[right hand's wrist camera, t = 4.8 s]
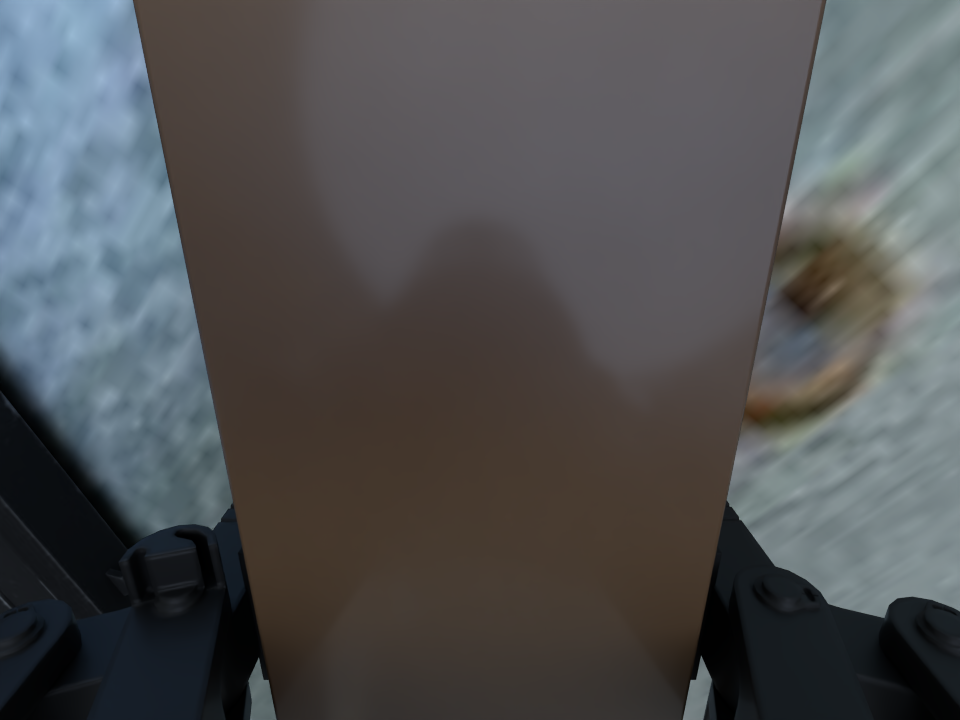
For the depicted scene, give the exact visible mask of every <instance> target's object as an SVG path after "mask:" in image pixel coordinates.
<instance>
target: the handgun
mask: <svg viewBox="0 0 960 720" xmlns="http://www.w3.org/2000/svg"><path fill="white" fill-rule="evenodd" d="M126 551H127V548H126V547H125V546H124V545H123V543H122V542H121V541H120V540H119V538H118V537H117V536H116V535H115V533H114V532H113V531H112V530H111V528H110V527H109V526H108V525H107V523H106V522H105V521H104V520H103V518H102V517H101V516H100V515H99V513H98V512H97V511H96V510H95V508H94V507H93V506H92V505H91V503H90V502H89V501H88V500H87V498H86V497H85V496H84V495H83V493H82V492H81V491H80V490H79V488H78V487H77V486H76V485H75V483H74V482H73V481H72V480H71V478H70V477H69V476H68V475H67V473H66V472H65V471H64V470H63V468H62V467H61V466H60V465H59V463H58V462H57V461H56V460H55V458H54V457H53V456H52V455H51V453H50V452H49V451H48V450H47V448H46V447H45V446H44V445H43V443H42V442H41V441H40V440H39V438H38V437H37V436H36V435H35V433H34V432H33V431H32V430H31V428H30V427H29V426H28V425H27V423H26V422H25V421H24V420H23V418H22V417H21V416H20V415H19V413H18V412H17V411H16V410H15V408H14V407H13V406H12V405H11V403H10V402H9V401H8V400H7V398H6V397H5V396H4V395H3V393H2V392H1V391H0V614H1V613H3V612H5V611H7V610H9V609H12V608H15V607H18V606H20V605H23V604H26V603H28V602H34V601H39V600H45V599H52V600H61V601H64V602H65V603H66V604H68V605H69V606H70V607H71V608H72V611H73V614H74V617H75V619H76V620H80V619H84V618H88V617H92V616H97V615H101V614H105V613H109V612H114V611H118V610H121V609H125V608H128V607H131V606H132V605H131V601H130V598H129V595H128V592H127V588H126V585H125V582H124V579H123V575H122V572H121V569H120V566H119V561H120V559H121V558H122V557H123V555H124V554H125V553H126Z"/></svg>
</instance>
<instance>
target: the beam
mask: <svg viewBox="0 0 960 720" xmlns="http://www.w3.org/2000/svg"><path fill="white" fill-rule="evenodd" d="M133 3H134V8H135V13H136V18H137V23H138V28H139V33H140V38H141V43H142V48H143V53H144V58H145V63H146V68H147V73H148V78H149V83H150V88H151V93H152V98H153V103H154V108H155V113H156V118H157V123H158V128H159V133H160V138H161V143H162V148H163V153H164V158H165V163H166V168H167V173H168V178H169V183H170V188H171V193H172V198H173V203H174V208H175V213H176V218H177V223H178V228H179V233H180V238H181V243H182V248H183V253H184V258H185V263H186V268H187V273H188V278H189V283H190V288H191V293H192V298H193V303H194V308H195V313H196V318H197V323H198V328H199V333H200V338H201V343H202V348H203V353H204V358H205V363H206V368H207V373H208V378H209V383H210V388H211V393H212V398H213V403H214V408H215V413H216V418H217V423H218V428H219V433H220V438H221V443H222V448H223V453H224V459H225V464H226V469H227V474H228V479H229V484H230V489H231V494H232V499H233V504H234V509H235V514H236V519H237V524H238V529H239V534H240V539H241V544H242V549H243V554H244V559H245V564H246V569H247V574H248V579H249V584H250V589H251V594H252V599H253V604H254V609H255V614H256V619H257V624H258V629H259V634H260V639H261V644H262V649H263V654H264V659H265V664H266V669H267V674H268V679H269V684H270V689H271V694H272V699H273V704H274V709H275V714H276V719H277V720H683V715H684V710H685V705H686V700H687V695H688V690H689V685H690V680H691V675H692V670H693V665H694V660H695V655H696V650H697V645H698V640H699V635H700V630H701V625H702V620H703V615H704V610H705V605H706V600H707V595H708V590H709V585H710V580H711V575H712V570H713V565H714V560H715V555H716V550H717V545H718V540H719V535H720V530H721V525H722V520H723V515H724V510H725V505H726V500H727V495H728V490H729V485H730V480H731V475H732V470H733V465H734V460H735V455H736V450H737V445H738V440H739V435H740V430H741V425H742V420H743V415H744V410H745V405H746V400H747V395H748V390H749V385H750V380H751V375H752V370H753V365H754V360H755V355H756V350H757V345H758V340H759V335H760V330H761V325H762V320H763V315H764V310H765V305H766V300H767V295H768V290H769V285H770V280H771V275H772V270H773V265H774V260H775V255H776V250H777V245H778V240H779V235H780V230H781V225H782V219H783V214H784V209H785V204H786V199H787V194H788V189H789V184H790V179H791V174H792V169H793V164H794V159H795V154H796V149H797V144H798V139H799V134H800V129H801V124H802V119H803V114H804V109H805V104H806V99H807V94H808V89H809V84H810V79H811V74H812V69H813V64H814V59H815V54H816V49H817V44H818V39H819V34H820V29H821V24H822V19H823V14H824V9H825V4H826V0H133Z"/></svg>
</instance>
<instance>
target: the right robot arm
mask: <svg viewBox="0 0 960 720" xmlns="http://www.w3.org/2000/svg"><path fill="white" fill-rule="evenodd" d="M119 566H120V569H121V572H122V575H123V579H124V582H125V585H126V588H127V592H128V595H129V598H130V601H131V605H132V606H131V607H128V608H125V609H121V610H118V611H114V612H109V613H105V614H101V615H97V616H92V617H88V618H84V619H80V620H76V619H75V617H74V614H73V611H72V608H71V607H70V606H69V605H68V604H66V603H65V602H64V601H61V600H52V599H45V600H39V601H34V602H28V603H26V604H23V605H20V606H18V607H15V608H12V609H9V610H7V611H5V612H3V613H1V614H0V720H250V714H251V704H252V700H251V693H250V687H249V683H248V680H249V678H250V676H251V673H252V671H253V669H254V667H255V664H256V662H257V660H258V658H259V659H260V664H261V669H262V674H263V679H264V680H269V679H268V674H267V669H266V664H265V659H264V654H263V649H262V644H261V639H260V634H259V629H258V624H257V619H256V614H255V609H254V604H253V599H252V594H251V589H250V584H249V579H248V574H247V569H246V564H245V559H244V554H243V549H242V544H241V539H240V534H239V529H238V524H237V519H236V514H235V509H234V504H233V503H232V505H231V509H228V510H227V512H226V513H225V514H224V516H223V517H222V518H221V522H219V523H218V524H217V525H216V527H215V528H214V529H213V531H212V530H211V529H210V528H208V527H205V526H200V525H196V524H192V525H178V526H174V527H171V528H167V529H163V530H160V531H158V532H156V533H154V534H152V535H149V536H147V537H145V538H143V539H142V540H140V541H139V542H138V543H136V544H135V545H134V546H132V547H131V548H130V549H128V550H127V551H126V553H125V554H124V555H123V557H122V558H121V559H120V561H119ZM701 656H702V658H703V660H704V663H705V665H706V667H707V669H708V671H709V674H710V676H711V678H712V683H711V687H710V692H709V696H708V701H707V705H706V710H705V714H704V719H703V720H960V611H958V610H956V609H954V608H952V607H949V606H947V605H944V604H941V603H938V602H936V601H933V600H929V599H923V598H917V597H905V598H897V599H896V600H895V601H894V602H892V603H891V604H890V605H889V607H888V610H887V612H886V615H885V618H881V617H877V616H873V615H869V614H864V613H860V612H856V611H852V610H847V609H843V608H839V607H836V606H833V605H829V604H828V603H827V602H826V600H825V599H824V597H823V596H822V594H821V592H820V591H819V590H817V589H816V588H815V587H814V586H813V585H811V584H810V583H809V582H808V581H807V580H805V579H803V578H802V577H800V576H798V575H796V574H794V573H792V572H790V571H788V570H785V569H782V568H778V567H775V566H774V564H773V563H772V562H771V560H770V559H769V557H768V556H767V555H766V553H765V552H764V551H763V549H762V548H761V547H760V545H759V544H758V542H757V541H756V540H755V538H754V537H753V536H752V534H751V533H750V532H749V530H748V529H747V527H746V526H745V525H744V523H743V522H742V521H741V520H739V517H738V515H737V514H736V512H735V511H734V510H733V508H732V507H729V503H728V502H727V500H726V505H725V510H724V515H723V520H722V525H721V530H720V535H719V540H718V545H717V550H716V555H715V560H714V565H713V570H712V575H711V580H710V585H709V590H708V595H707V600H706V605H705V610H704V615H703V620H702V625H701V630H700V635H699V640H698V645H697V650H696V655H695V660H694V665H693V670H692V675H691V680H696V677H697V672H698V667H699V662H700V658H701Z"/></svg>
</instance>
